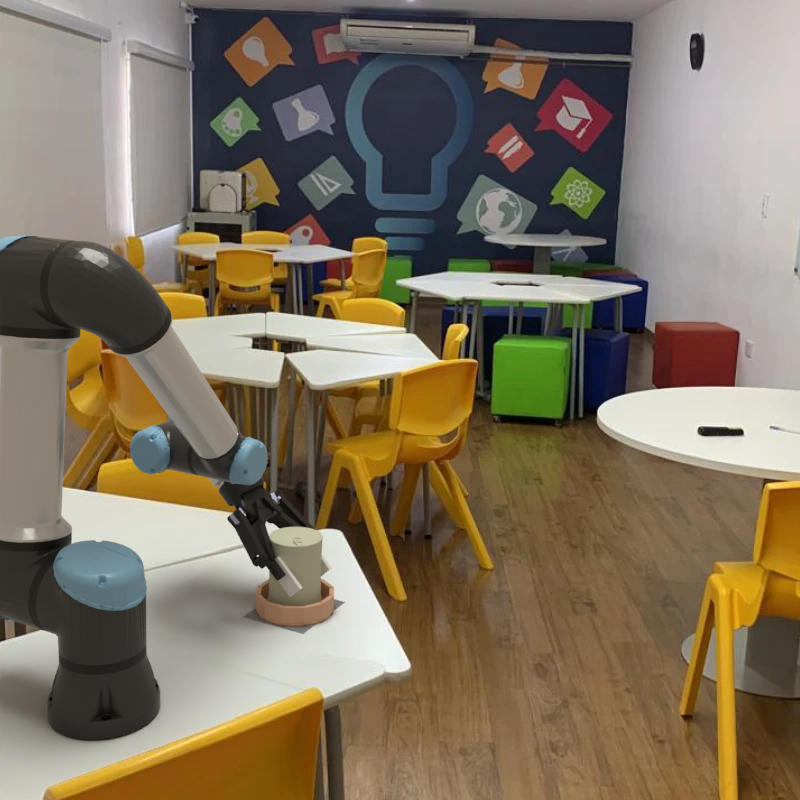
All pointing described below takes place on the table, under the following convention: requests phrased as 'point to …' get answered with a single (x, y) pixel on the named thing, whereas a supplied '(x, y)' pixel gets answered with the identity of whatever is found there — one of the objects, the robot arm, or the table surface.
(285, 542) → the can
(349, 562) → the table surface
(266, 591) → the bowl
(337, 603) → the mat
